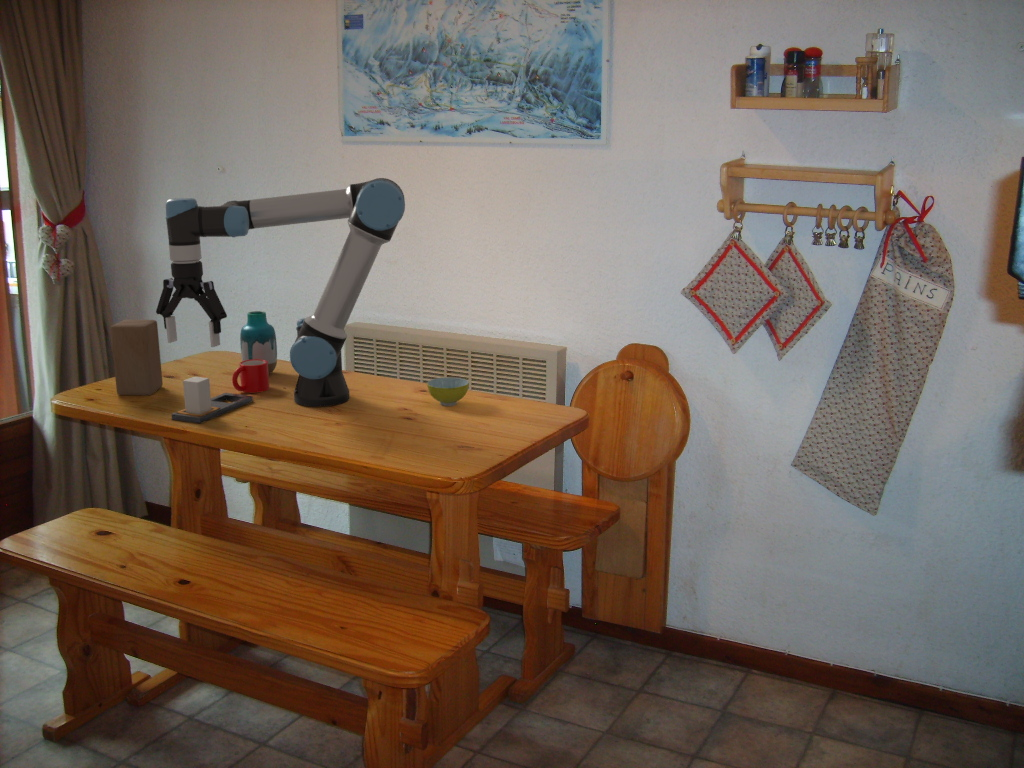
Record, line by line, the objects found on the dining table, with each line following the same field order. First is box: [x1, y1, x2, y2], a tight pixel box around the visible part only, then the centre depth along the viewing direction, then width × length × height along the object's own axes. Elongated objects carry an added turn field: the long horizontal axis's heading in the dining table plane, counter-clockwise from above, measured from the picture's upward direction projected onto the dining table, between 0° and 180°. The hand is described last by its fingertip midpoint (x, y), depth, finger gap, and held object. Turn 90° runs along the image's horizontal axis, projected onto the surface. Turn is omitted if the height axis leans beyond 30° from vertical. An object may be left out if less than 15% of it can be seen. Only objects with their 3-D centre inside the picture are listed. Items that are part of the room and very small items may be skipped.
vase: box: [239, 310, 278, 374], centre depth 293 cm, size 11×11×19 cm
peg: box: [182, 376, 212, 415], centre depth 253 cm, size 5×5×10 cm
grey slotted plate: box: [171, 392, 254, 424], centre depth 259 cm, size 9×22×2 cm, turn 158°
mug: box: [231, 359, 270, 393], centre depth 278 cm, size 8×12×8 cm, turn 150°
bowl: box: [426, 377, 470, 407], centre depth 266 cm, size 11×12×6 cm
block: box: [109, 318, 163, 396], centre depth 274 cm, size 10×10×20 cm
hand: (193, 343), depth 249 cm, fingers open, 13 cm apart
